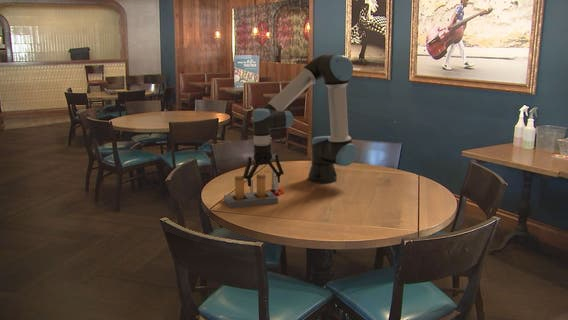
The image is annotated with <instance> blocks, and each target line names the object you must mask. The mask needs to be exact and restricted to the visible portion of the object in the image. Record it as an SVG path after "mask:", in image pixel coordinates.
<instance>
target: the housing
mask: <svg viewBox="0 0 568 320" xmlns="http://www.w3.org/2000/svg"><path fill="white" fill-rule="evenodd" d="M223 201H224V202H225V205H227V206H228V208H229V209H233V208H234V209H236V208H237V209H238V208H245V207H255V206H264V205H273V204H279V197H278V195H274V194H273V193H272V192H271V191H267V190H266V197H261V198H257V191H255V192H254V191H253V194H251V193H250V192H244V199H241V200H235V193H233V194H231V193H230V194H224V195H223Z"/></svg>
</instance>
